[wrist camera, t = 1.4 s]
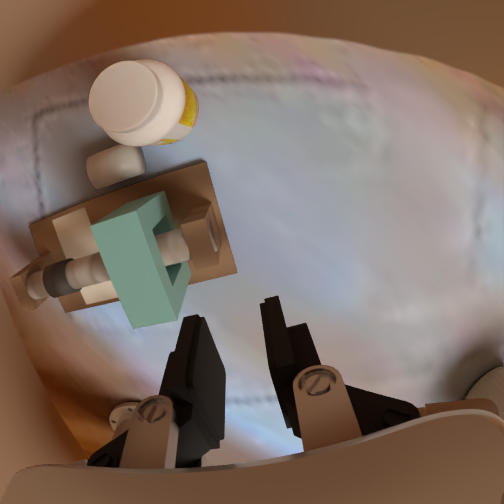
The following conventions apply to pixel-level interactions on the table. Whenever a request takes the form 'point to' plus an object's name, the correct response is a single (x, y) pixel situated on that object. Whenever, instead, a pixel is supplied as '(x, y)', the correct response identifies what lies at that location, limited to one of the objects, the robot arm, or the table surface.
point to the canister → (490, 389)
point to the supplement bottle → (143, 103)
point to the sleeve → (115, 165)
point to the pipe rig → (88, 256)
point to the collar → (142, 260)
